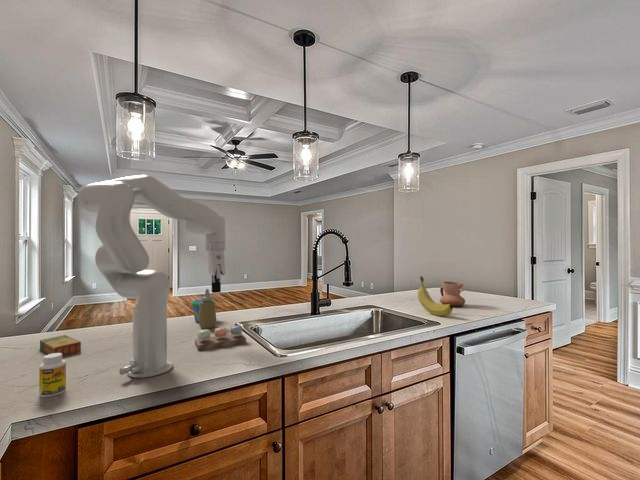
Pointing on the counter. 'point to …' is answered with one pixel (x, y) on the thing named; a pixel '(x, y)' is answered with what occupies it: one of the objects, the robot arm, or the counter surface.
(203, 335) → the button sage
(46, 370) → the supplement bottle
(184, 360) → the counter surface
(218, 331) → the button terracotta
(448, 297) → the ceramic jug
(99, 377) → the counter surface
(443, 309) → the banana
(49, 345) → the carton
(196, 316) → the snack cup
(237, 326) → the button slate
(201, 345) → the button board
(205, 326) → the squeeze bottle
